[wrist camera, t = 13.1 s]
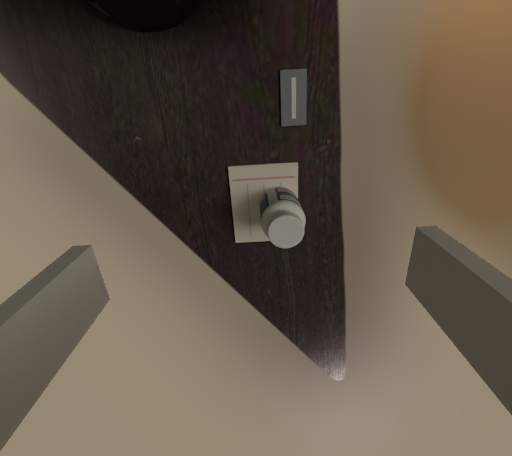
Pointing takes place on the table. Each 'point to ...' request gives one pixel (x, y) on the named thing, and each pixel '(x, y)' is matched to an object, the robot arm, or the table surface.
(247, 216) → the paper
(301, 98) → the grey striped flat block
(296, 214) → the pill bottle
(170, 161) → the table surface
